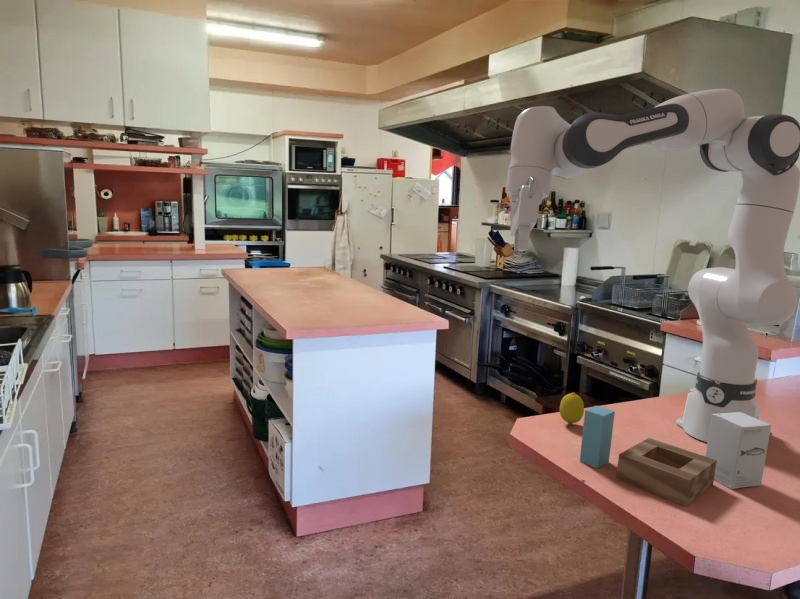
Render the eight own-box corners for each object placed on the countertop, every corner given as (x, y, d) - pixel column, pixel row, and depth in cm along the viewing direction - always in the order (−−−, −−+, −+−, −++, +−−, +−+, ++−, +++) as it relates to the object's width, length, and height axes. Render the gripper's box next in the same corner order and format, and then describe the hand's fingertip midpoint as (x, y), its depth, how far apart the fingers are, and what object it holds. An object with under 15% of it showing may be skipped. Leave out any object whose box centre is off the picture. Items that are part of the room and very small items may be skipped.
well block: (646, 460, 120) (649, 437, 119) (713, 484, 110) (716, 460, 109) (616, 478, 111) (619, 454, 110) (685, 506, 102) (689, 480, 101)
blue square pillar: (590, 455, 121) (596, 405, 119) (608, 462, 118) (614, 411, 116) (579, 461, 118) (585, 410, 116) (597, 468, 115) (603, 416, 113)
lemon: (583, 430, 134) (586, 397, 133) (558, 427, 135) (562, 395, 134) (580, 421, 140) (584, 390, 138) (557, 419, 141) (560, 387, 139)
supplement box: (732, 490, 108) (742, 427, 106) (701, 472, 115) (710, 412, 113) (762, 486, 111) (773, 424, 108) (730, 469, 118) (740, 410, 115)
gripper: (550, 174, 107) (541, 248, 107) (537, 198, 127) (530, 260, 127) (516, 171, 108) (507, 244, 107) (509, 195, 128) (501, 257, 128)
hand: (519, 253), depth 117 cm, fingers open, 8 cm apart
